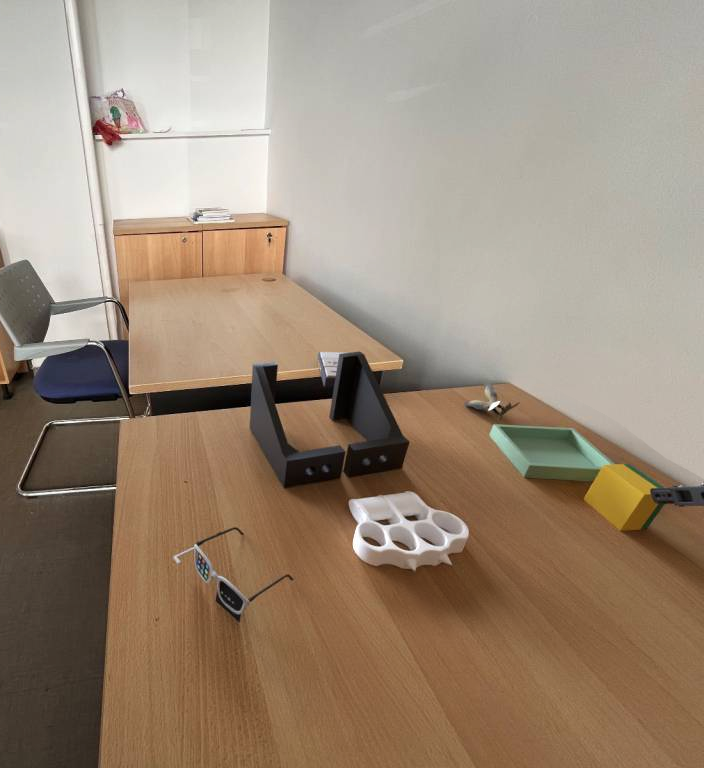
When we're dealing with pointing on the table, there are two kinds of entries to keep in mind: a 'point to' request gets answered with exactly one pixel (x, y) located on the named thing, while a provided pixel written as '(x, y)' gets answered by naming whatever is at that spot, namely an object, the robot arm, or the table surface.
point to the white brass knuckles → (405, 531)
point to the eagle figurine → (490, 402)
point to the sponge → (624, 497)
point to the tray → (549, 452)
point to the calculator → (328, 367)
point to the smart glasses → (223, 580)
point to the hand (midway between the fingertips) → (681, 494)
